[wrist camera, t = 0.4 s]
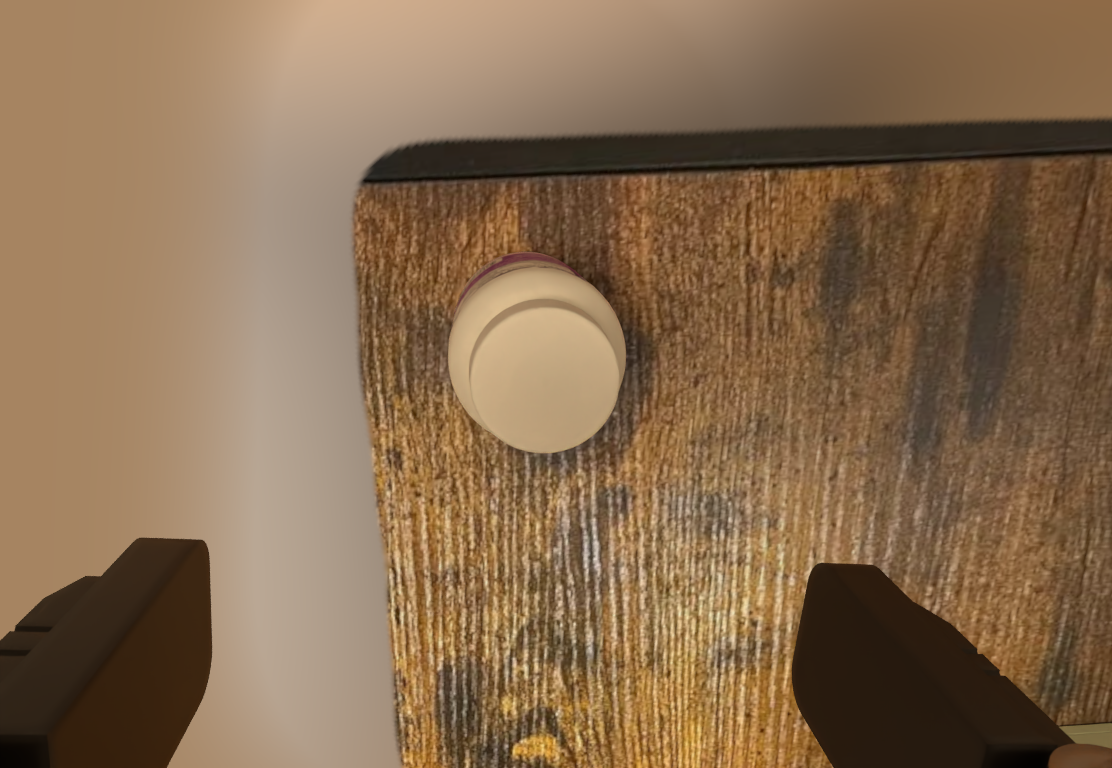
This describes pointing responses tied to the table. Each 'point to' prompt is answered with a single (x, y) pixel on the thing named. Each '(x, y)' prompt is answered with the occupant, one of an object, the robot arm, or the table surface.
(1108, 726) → the green open box
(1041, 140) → the table surface
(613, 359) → the pill bottle
